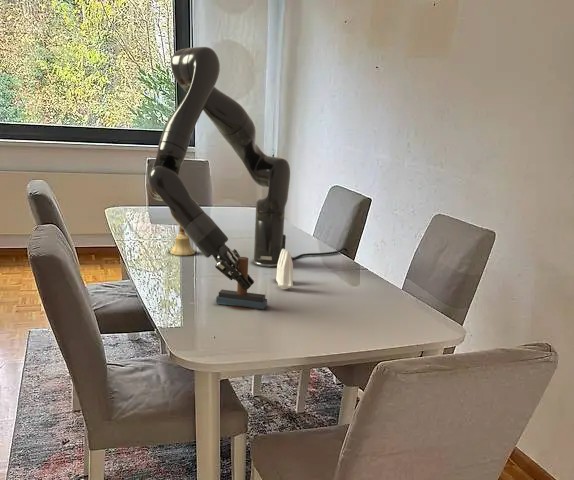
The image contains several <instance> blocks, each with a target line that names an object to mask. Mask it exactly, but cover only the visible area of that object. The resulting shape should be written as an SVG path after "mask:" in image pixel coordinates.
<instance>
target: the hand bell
mask: <svg viewBox="0 0 574 480" xmlns="http://www.w3.org/2000/svg"><path fill="white" fill-rule="evenodd" d="M174 241H175V242H174V245H173V247H172V249H171V250H170V251H169V252H170V254H171V255H174V256H182V257H183V256H185V257H186V256H192V255H195V254H196V251H195V249H193V247H192V245H191V242H190V241H191V240H190V238H189V237H188V235H187V234H186V232H185V231H184V229H182V227H181V226H180V225H179V234H178V235H176V236H175V240H174Z"/></svg>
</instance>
